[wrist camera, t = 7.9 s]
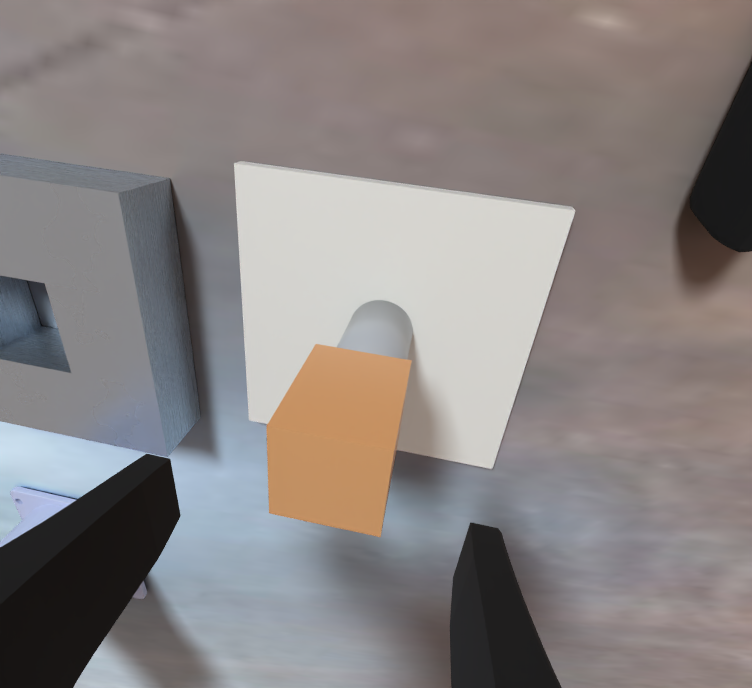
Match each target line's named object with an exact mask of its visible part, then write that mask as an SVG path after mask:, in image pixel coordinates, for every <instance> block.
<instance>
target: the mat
mask: <svg viewBox="0 0 752 688" xmlns="http://www.w3.org/2000/svg"><path fill="white" fill-rule="evenodd" d="M234 170H235V187H236V205H237V222H238V239H239V256H240V273H241V290H242V307H243V324H244V341H245V359H246V376H247V393H248V410H249V420H250V421H255V422H260V423H265V424H268V423H269V421H270V419H271V418H272V416H273V414H274V413H275V411H276V409H277V408H278V406H279V404H280V403H281V401H282V399H283V398H284V396H285V394H286V393H287V391H288V389H289V388H290V386H291V384H292V383H293V381H294V379H295V378H296V376H297V374H298V373H299V371H300V369H301V368H302V366H303V364H304V363H305V361H306V359H307V358H308V356H309V354H310V353H311V351H312V349H313V348H314V346H315V344H320V345H326V346H332V347H337V345H338V343H339V342H340V340H341V338H342V336H343V334H344V332H345V330H346V328H347V326H348V324H349V322H350V320H351V318H352V316H353V314H354V312H355V311H356V310H357V309H358V308H359V307H360V306H361V305H363V304H364V303H367V302H370V301H374V300H385V301H389V302H392V303H394V304H396V305H398V306H399V307H401V308H402V309H403V310H404V311H405V312H406V313H407V315H408V316H409V318H410V320H411V323H412V327H413V335H412V339H411V344H410V349H409V354H408V358H407V360H412V361H411V367H410V373H409V380H408V386H407V392H406V398H405V404H404V410H403V416H402V422H401V428H400V434H399V440H398V445H397V450H400V451H405V452H410V453H415V454H420V455H424V456H429V457H434V458H439V459H444V460H449V461H454V462H459V463H464V464H469V465H474V466H479V467H484V468H489V469H492V468H493V465H494V462H495V459H496V456H497V453H498V450H499V447H500V443H501V440H502V437H503V434H504V431H505V428H506V425H507V422H508V419H509V416H510V412H511V409H512V406H513V403H514V400H515V397H516V394H517V391H518V388H519V384H520V381H521V378H522V375H523V372H524V369H525V366H526V363H527V360H528V357H529V353H530V350H531V347H532V344H533V341H534V338H535V335H536V332H537V329H538V325H539V322H540V319H541V316H542V313H543V310H544V307H545V304H546V301H547V298H548V294H549V291H550V288H551V285H552V282H553V279H554V276H555V273H556V270H557V266H558V263H559V260H560V257H561V254H562V251H563V248H564V245H565V242H566V239H567V235H568V232H569V229H570V226H571V223H572V220H573V217H574V214H575V210H574V209H573V207H570V206H563V205H556V204H548V203H541V202H534V201H527V200H519V199H512V198H505V197H498V196H490V195H483V194H476V193H468V192H461V191H454V190H447V189H439V188H432V187H425V186H418V185H410V184H403V183H396V182H389V181H381V180H374V179H367V178H360V177H352V176H345V175H338V174H330V173H323V172H316V171H309V170H301V169H294V168H287V167H280V166H272V165H265V164H258V163H251V162H243V161H240V162H237V163H234Z"/></svg>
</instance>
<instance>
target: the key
mask: <svg viewBox="0 0 752 688" xmlns="http://www.w3.org/2000/svg"><path fill="white" fill-rule="evenodd" d="M412 335H413V327H412V323H411V320H410V318H409V316H408V315H407V313H406V312H405V311H404V310H403V309H402V308H401V307H399V306H398V305H396V304H394V303H392V302H389V301H385V300H374V301H370V302H367V303H364V304H363V305H361V306H360V307H359V308H358V309H357V310H356V311H355V312H354V314H353V316H352V318H351V320H350V322H349V324H348V326H347V328H346V330H345V332H344V334H343V336H342V338H341V340H340V342H339V343H338V345H337V347H332V346H326V345H320V344H315V346H314V348H313V349H312V351H311V353H310V354H309V356H308V358H307V359H306V361H305V363H304V364H303V366H302V368H301V369H300V371H299V373H298V374H297V376H296V378H295V379H294V381H293V383H292V384H291V386H290V388H289V389H288V391H287V393H286V394H285V396H284V398H283V399H282V401H281V403H280V404H279V406H278V408H277V409H276V411H275V413H274V414H273V416H272V418H271V419H270V421H269V423H268V424H267V455H268V488H269V513H270V514H275V515H280V516H284V517H289V518H294V519H298V520H303V521H308V522H312V523H317V524H322V525H326V526H331V527H336V528H340V529H345V530H350V531H354V532H359V533H364V534H368V535H373V536H378V537H381V531H382V526H383V520H384V515H385V510H386V504H387V499H388V494H389V488H390V483H391V478H392V472H393V467H394V461H395V456H396V451H397V445H398V440H399V434H400V428H401V422H402V416H403V410H404V404H405V398H406V392H407V386H408V380H409V373H410V367H411V361H412V360H407V358H408V354H409V349H410V344H411V339H412Z"/></svg>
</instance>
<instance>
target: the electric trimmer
mask: <svg viewBox="0 0 752 688" xmlns="http://www.w3.org/2000/svg"><path fill="white" fill-rule="evenodd" d="M690 208H691V210H692V211H693V213H694V214H695V216H696V217H697V218H698V220H699V221H700V222H701V223H702V225H703V226H704V227H705V228H706V229H707V231H708V232H709V233H710V234H711V236H712V237H714V238H715V239H716V240H718V241H719V242H720V243H722V244H723V245H725V246H727V247H729V248H731V249H733V250H735V251H738V252H749V251H752V64H751V66H750V68H749V70H748V72H747V74H746V76H745V79H744V81H743V83H742V85H741V87H740V89H739V91H738V94H737V96H736V98H735V100H734V102H733V104H732V107H731V109H730V111H729V113H728V115H727V117H726V119H725V122H724V124H723V126H722V128H721V130H720V132H719V134H718V137H717V139H716V141H715V143H714V145H713V147H712V150H711V152H710V154H709V156H708V158H707V160H706V162H705V165H704V167H703V169H702V171H701V173H700V175H699V177H698V180H697V182H696V184H695V186H694V189H693V191H692V194H691V197H690Z"/></svg>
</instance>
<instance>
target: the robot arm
mask: <svg viewBox="0 0 752 688" xmlns="http://www.w3.org/2000/svg"><path fill="white" fill-rule="evenodd" d="M10 495H11V497H12V499H13V501H14V503H15V506H16V508H17V510H18V512H19V514H20V517H21V519H22V521H21V522H20V523H19V524H18V525H17V526H16V527H15V528H14V529H13V530H12V531H11V532H10V533H9V534H8V535H6V536H5V537H4V538H3V539H2V540H1V541H0V688H73V687H74V685H75V683H76V682H77V680H78V678H79V676H80V675H81V673H82V672H83V670H84V669H85V667H86V665H87V664H88V662H89V661H90V659H91V657H92V656H93V654H94V653H95V651H96V650H97V648H98V647H99V645H100V644H101V642H102V641H103V640H104V638H105V637H106V635H107V634H108V632H109V631H110V629H111V628H112V626H113V625H114V623H115V622H116V620H117V619H118V617H119V616H120V615H121V613H122V612H123V610H124V609H125V607H126V606H127V604H128V603H129V601H130V600H131V598H132V597H133V598H137V599H144V598H145V596H146V595H147V590H146V587H145V583H144V579H145V578H146V576H147V575H148V573H149V572H150V570H151V569H152V567H153V566H154V564H155V562H156V561H157V559H158V558H159V556H160V554H161V552H162V551H163V549H164V547H165V545H166V543H167V541H168V540H169V538H170V536H171V534H172V532H173V530H174V528H175V526H176V524H177V522H178V520H179V518H180V510H179V505H178V500H177V494H176V489H175V483H174V478H173V472H172V467H171V461H170V459H168V458H164V457H159V456H154V455H150V454H146V455H144V456H143V457H141V458H139V459H138V460H136V461H135V462H133V463H132V464H130V465H129V466H127V467H126V468H124V469H123V470H121V471H120V472H118V473H117V474H115V475H114V476H112V477H111V478H109V479H108V480H106V481H105V482H103V483H102V484H100V485H99V486H97V487H96V488H94V489H93V490H91V491H90V492H88V493H87V494H85V495H84V496H82V497H80V498H79V499H77V500H75V499H71V498H67V497H62V496H58V495H54V494H49V493H45V492H40V491H36V490H32V489H27V488H23V487H15V488H13V489H12V490H11V491H10ZM450 649H451V685H452V688H561V685H560V683H559V681H558V679H557V677H556V675H555V673H554V670H553V668H552V666H551V664H550V661H549V659H548V657H547V655H546V652H545V650H544V648H543V645H542V643H541V641H540V638H539V636H538V633H537V631H536V628H535V626H534V624H533V621H532V619H531V616H530V614H529V611H528V609H527V606H526V604H525V601H524V599H523V596H522V593H521V590H520V588H519V585H518V582H517V580H516V577H515V574H514V571H513V568H512V565H511V562H510V559H509V556H508V553H507V550H506V547H505V543H504V540H503V536H502V533H501V532H500V530H499V529H498V528H494V527H489V526H484V525H480V524H475V523H470V525H469V529H468V532H467V535H466V538H465V541H464V545H463V548H462V551H461V554H460V557H459V561H458V564H457V567H456V570H455V573H454V577H453V588H452V602H451V618H450Z"/></svg>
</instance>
